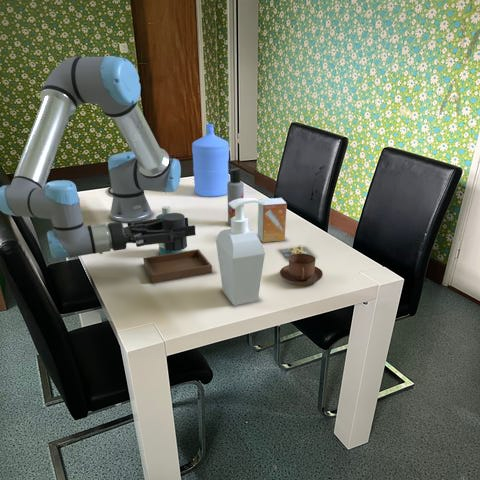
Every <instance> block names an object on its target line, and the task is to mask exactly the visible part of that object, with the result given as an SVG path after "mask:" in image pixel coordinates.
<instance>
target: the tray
mask: <svg viewBox="0 0 480 480" xmlns="http://www.w3.org/2000/svg"><path fill="white" fill-rule="evenodd" d="M142 261H143V266H144V268H145V270H146V272H147V274H148V276H149V277H150V280H151V281H152V283H153V284H158V283H163V282H169V281H175V280H180V279H186V278H192V277H196V276H197V277H198V276H203V275H210V274H213V265H212V264H211V262H210V261H209V260H208V259H207V258H206V256H205V255H204V254H203V253H202V251H201V250H200V249H198V248H197V249H191V250H184V251H181V252H178V253H172V254H165V255H160V254H159V255H153V256H147V257H143V258H142Z"/></svg>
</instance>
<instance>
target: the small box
mask: <svg viewBox="0 0 480 480" xmlns="http://www.w3.org/2000/svg"><path fill="white" fill-rule="evenodd" d="M258 200H260V201H262V202H263V204H259V203H257V236H258V238H259V240H260V242H261V243H271V242H282V241H283V242H284V241H286V226H287V225H286V224H287V208H288V204H287V202H286V201H285V199H283V197H275V198H272V197H271V198H270V197H269V198H262V199H258Z"/></svg>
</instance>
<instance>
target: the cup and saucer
mask: <svg viewBox="0 0 480 480" xmlns="http://www.w3.org/2000/svg"><path fill="white" fill-rule="evenodd" d="M309 254H310V253H309ZM309 254H294V255H291V256H290V257H289V259H288V264H287V265H285V266H283V267H281V269H280V271H279V274H280V277H281V278H282V279H283V280H284V281H286V282H287V283H291V284H294V285H302V286H303V285H312V284H315V283H317V282H318V281H320V280H321V279H322V278H323V275H324V273H323V270H322V269H321V268H319V267H317V266H316V257H315V256H313V255H312V254H310V255H309Z"/></svg>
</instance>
